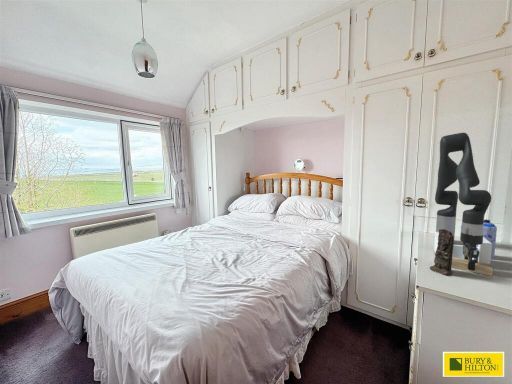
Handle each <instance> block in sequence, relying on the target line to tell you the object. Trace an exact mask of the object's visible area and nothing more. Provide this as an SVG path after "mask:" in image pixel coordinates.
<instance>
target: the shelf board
mask: <svg viewBox="0 0 512 384" xmlns="http://www.w3.org/2000/svg"><path fill="white" fill-rule="evenodd" d="M451 269H457V270H461V271H467V272H471V273H477V274H481V275H485V276H486V275H487V276H493V271H494V270H493V266H492V265H491V263H490V264H488V263H482V262H478V263H475V270H474V271H473V270H469V269H468V260H465V259H459V258H454V257H452V265H451Z"/></svg>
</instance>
